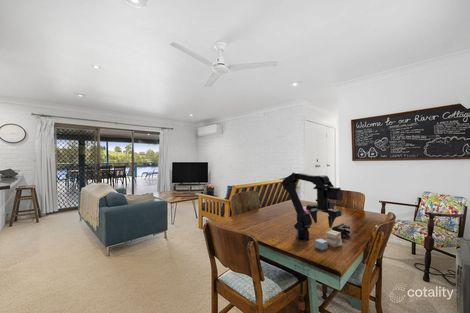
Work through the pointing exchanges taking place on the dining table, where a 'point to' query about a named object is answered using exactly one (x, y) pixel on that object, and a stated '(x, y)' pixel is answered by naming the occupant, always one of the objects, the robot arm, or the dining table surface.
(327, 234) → the tower top
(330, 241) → the tower base
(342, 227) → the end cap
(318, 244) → the blue block
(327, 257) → the dining table surface
